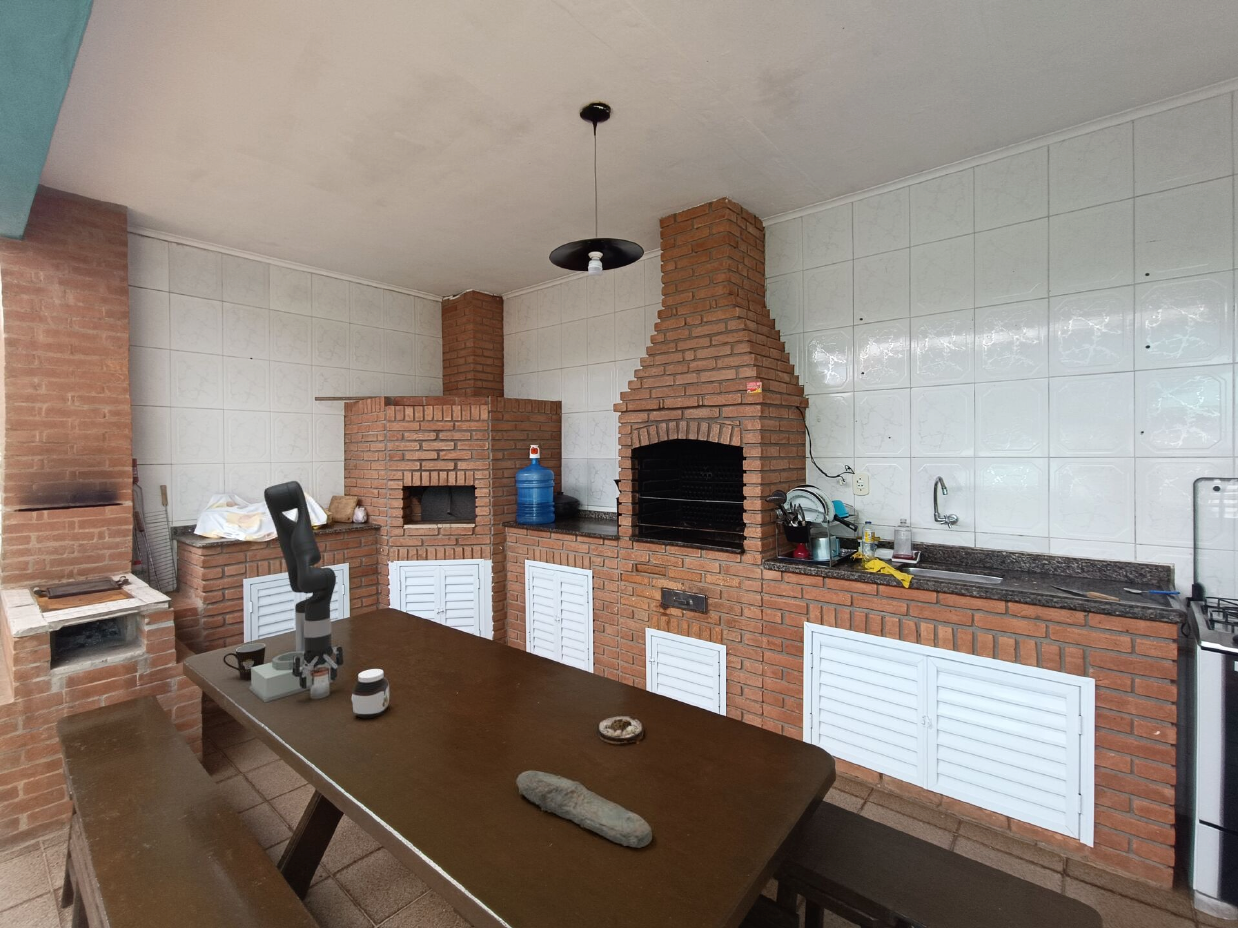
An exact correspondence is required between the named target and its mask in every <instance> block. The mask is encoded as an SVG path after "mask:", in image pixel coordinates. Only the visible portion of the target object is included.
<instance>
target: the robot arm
mask: <svg viewBox="0 0 1238 928" xmlns="http://www.w3.org/2000/svg"><path fill="white" fill-rule="evenodd" d="M263 497H264V502H265V505H266V507H267V509H268V512H269V515H270V517H271V520H272V522H273V525H274V528H275V531H276V536H277V539H278V544H279V547H280V550H281V553H282V556H283V559H284V561H285V565H286V568H287V577H288V581H289V586H290V588H291V590H292V592H294V593H297V594H298V593H299V594H301V593H303V594H312V595H311V596H310V597H308V598H306V599H304V600H301V601H298V602H296V604H295V606H294V607H295V611H294V612H295V613H294V614H295V615H294V616H295V617H294V618H295V652H298V651H305V652H304V655H301V656H294V657H293V668H292V675H294V676H295V677H299V682H300V687H302V688H303V689H306V688H307V678H306V674H307V673H308V671H310V670H311V668H312V667H313V666H314V667H316V666H318V665H323V664H325V663H326V662H327V663H328V664H329V665H330V667H331V668H330V679H331V680H332V681H333V682H334V681H336V679H337V677H338V668H339V667H340V666H343V664H344V657H343V656H344V654H343V647H342V646H341V645H339V644H337V645H335V647H332V630H333V629H332V621H331V602H332V597H333V593H334V591H335V589H336V588H335V587H336V584H337V583H336V582H337V577H336V573H335V571H334V570H333V569H332V568H331V567H320V566H315V565H317V564H319V563H320V562H321V560H322V554H321V551H320V548H319V546H318V543H317V540H316V536H315V534H314V529H313V525H312V520H311V516H310V515H311V514H310V512H309V508H308V504H307V501H306V496H305V492H304V490H303V487H302V486H301V484H300V483H299V482H298V481H297V480H291V481H287V482H283V483H279V484H276V485H272V486H268V487H267V488H265V489H264V491H263ZM293 510H297V520H296V521H295V520H293V519H291V518H289V517H288V516H287V515H285V514H284V512H285V513H286V512H289V511H293ZM332 654H335V661H334V660H333V659H332V658H331V656H332ZM303 659H304V660H305V661H306V662H305V663H304V665H303V667H302V669H301V671H300V663H301V662H302V660H303Z"/></svg>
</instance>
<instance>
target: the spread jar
mask: <svg viewBox="0 0 1238 928" xmlns="http://www.w3.org/2000/svg"><path fill="white" fill-rule="evenodd" d="M357 678H358V679H357V680H358V681H357V683H356V685H355V686H354V688H353V692H352V695H351V702H352V710H353V713H354V714H355V716H358V717H360V718H364V719H370V718H375V717H378V716H380V715H382V714H384V713H385V711H386V709H387V707H388V705H389V703H390V702H389V701H390V683H389V681H388V679H387V678H386V677H384V670H383V669H380V668H371V669H367V670H363V671H361V672H360V673H358V677H357Z"/></svg>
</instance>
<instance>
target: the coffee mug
mask: <svg viewBox="0 0 1238 928" xmlns="http://www.w3.org/2000/svg"><path fill="white" fill-rule="evenodd" d="M266 647H267V645H266V643H260V642H259V643H249V644H244V645H242V646H239V647H237V648H236V649H235V653H233V652H229V653H227V654H225V655H223V660H222V661H223V663H224V664H225V665H226V666H228V667H229V668H232V669H233V670H236V671H238V672H239V679H240V680H241V681H251V667H255V666H259V665H263V664H265V655H266ZM228 656H234V658H235V659H236V660H237V666H238V667H236V666H234V665H231V664H229V662H227V661H226V658H227V657H228Z"/></svg>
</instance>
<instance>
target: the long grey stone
mask: <svg viewBox="0 0 1238 928" xmlns="http://www.w3.org/2000/svg"><path fill="white" fill-rule="evenodd" d="M515 782H516V786H517V787H518V792H519V794H520V795H523V796H524V797H525V798H526V799H527V800H529V801H530V802H531V803H533V804H535V805H537V806H539V808H541V810H540V811H546V812H548V813H553V814H554V815H557V816H558V817H561V818H563V819H566V820H571V821H572V822H573V823H575V824H577V825H579V826H580V827H581V828H585V829H587V830H591V831H593V832H594V833H597V834H598V835H600V836H602V837H603V838H606V839H608V840H609V841H611V842H613V843H617V844H620V845H622V846H624V847H625V846H626V847H627V846H628V847H631V848H638V849H640V848H643V847H645V846H648V845H649V844H651V841H652V839H653V833H652V827H651V826H650V825H649V823H648V822H647V821H646V820H645V819H644V818H643V817H641V816H640V815H638V814H637V813H635V812H632V811H630V810H628V809H626V808H624V807H623V806H621V805H620V804H618V803H615V802H613V801H610V800H608V799H606V798H604V797H602V796H601V795H598V794H596V792H593V791H590V790H588V789H587V788H586V787H585V786H584V785H583V784H582V783H580V782H579V781H573V780H572V779H568V778H566V777H563V776H561V775H555V774H553V773H548V772H543V771H538V770H527V771H523V772H521V774H519V775H518V777H517V778H516V780H515Z"/></svg>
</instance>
